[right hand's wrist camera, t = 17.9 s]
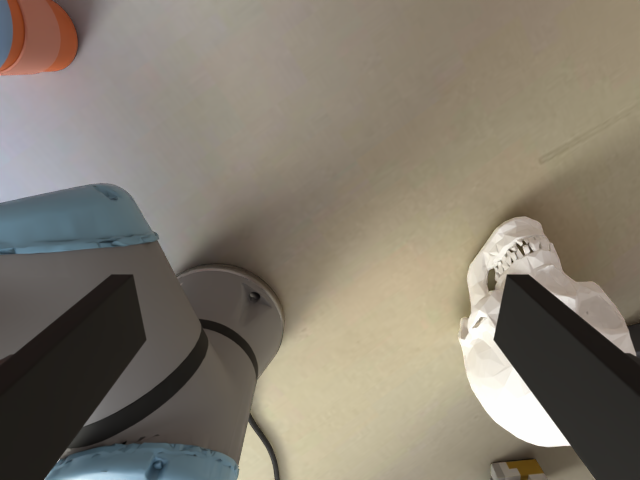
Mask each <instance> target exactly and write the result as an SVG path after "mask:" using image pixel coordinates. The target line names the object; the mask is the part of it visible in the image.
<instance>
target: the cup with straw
mask: <svg viewBox="0 0 640 480" xmlns="http://www.w3.org/2000/svg"><path fill="white" fill-rule="evenodd" d="M77 47H78V39H77V33H76V30H75V27H74V25H73V23H72V21H71V19H70V17H69V16H68V14H67V13H66V12H65V11H64V10H63V9H62V8H61V7H60V6H59V5H58V4H57V3H55V2H54V1H52V0H0V75H28V74H37V73H40V72H50V71H58V70H62V69H64V68H66V67H67V66H68V65H70V64H71V62H72V61H73V60H74V58H75V56H76V53H77Z"/></svg>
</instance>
